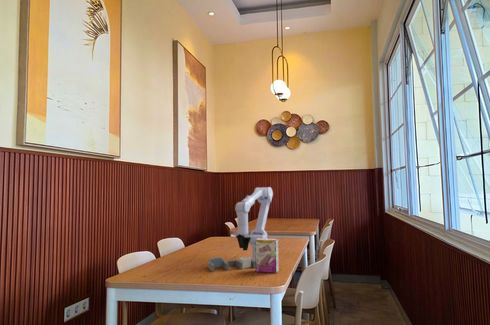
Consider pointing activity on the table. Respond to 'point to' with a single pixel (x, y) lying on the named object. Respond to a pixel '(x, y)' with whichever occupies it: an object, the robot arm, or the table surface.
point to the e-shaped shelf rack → (226, 263)
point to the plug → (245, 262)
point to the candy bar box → (266, 255)
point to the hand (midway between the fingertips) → (243, 249)
